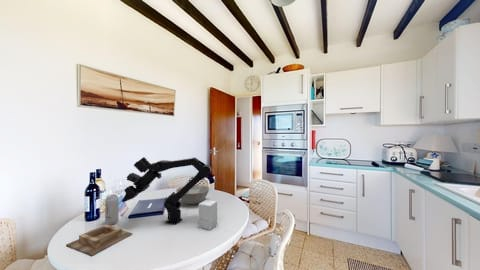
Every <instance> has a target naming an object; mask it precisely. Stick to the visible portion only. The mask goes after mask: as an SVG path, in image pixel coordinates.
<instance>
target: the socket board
mask: <svg viewBox="0 0 480 270" xmlns="http://www.w3.org/2000/svg"><path fill="white" fill-rule="evenodd" d="M133 234H134V233H132V232H129V231H126V230H123V229H122V228H120V227H116V226H113V225H107V224H103V225H101V226H99V227H97V228H93V229H91V230H89V231H86V232H85V233H82V234H79V235H78V239H76V240H74V241H71V242H69V243H66V245H65V247H68V248H70V249H73V250H76V251H77V252H80V253H83V254H85V255H88V256H90V257H94V256H96V255H97V254H99V253H101V252H102V251H104V250H106V249H108V248H111V247H112V246H114V245H116V244H118V243H120V242H121V241H123V240H125V239H127V238H129V237H131V236H133Z"/></svg>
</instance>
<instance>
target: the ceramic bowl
mask: <svg viewBox="0 0 480 270" xmlns="http://www.w3.org/2000/svg"><path fill="white" fill-rule="evenodd" d="M184 186H185V185H183V186H180V187H178V188H177V189H176V192H175V193H177V192H178V191H179V190H180V189H182V188H183V187H184ZM209 191H210V188H209V186H207V185H201V184H196V185H195V186H193V187H192V188H191V189H190V190H189V191H188V192H187V193H186V194H185V195H184V196H183V197H182V198H181V199H180V200H181V201H182V202H183V203H184V204H186V205H197V204H198V205H199V203H201V202H203V201H205V200H206V199H205V198H206V197H207V195H208V194H209Z"/></svg>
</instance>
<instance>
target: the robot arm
mask: <svg viewBox="0 0 480 270" xmlns="http://www.w3.org/2000/svg"><path fill="white" fill-rule="evenodd" d="M133 166H134V168H136V170H137V171H138V172H139V173H144V174H143V175H142V176H141V175H139V174H136V173H135V172H131V173H129V174H128V175H127V176H126V180H127V181H129V182H132V183H133V184H132V185H128V186H126V188H125V189H124V190H123V191H124V193H125V194H124V196H123V198H122V200H121V202H122V203H125V202H127V201H130V200H132V199H134V198H137V196H138V195H139V194H140V193H143V192H144V191H146V190H147V189H149V188H150V185H151V184H152V182H153V181H154V180H155V179H156V178H157V179H159V180H160V179H161V178H162V172H164V171H168V170H171V169H175V168H182V167H183V168H184V167H188V166H192V167H193V168H195V169H196V171H198V172H197V173H196V175H194V176H193V177H192V178H191V179H190V180H189V181H188V182H186V184H184V185H183V186H184V187H183V186H182V187H183V188H182V189H180V190H179V191H178V192H175V191H173V192H172V193H171V194H170V195H168V196H167V197H166V198H165V199H164V200H165V201H164V202H163V207H164V208H165V209H166V211H167V220H166V221H165V223H167V224H171V225H177V224H179V223H181V222H183V218H182V213H181V212H182V211H181V207H182V203H181V202H180V200H181V198H182V197H183V196H184V195H185V194H186V193H187V192H188V191H189V190H190V189H191V188H192V187H193V186H195V185H198V183H199V182H201V181H202V180H204V179H205V178H207V177H209V176H210V175H211V173H212V167H211V165H209V164H206V163H204V162H203V161H201V160H199V159H198V158H196V157H191V158H190V157H189V158H184V159H177V160H164V159H163V160H158V161H157V162H152V163H151V162H149V160H147V158H146V157H144V156H143V157H142V158H141V159H139V160H138V161H136V162H135V163H134V164H133Z"/></svg>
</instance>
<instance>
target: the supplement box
mask: <svg viewBox="0 0 480 270" xmlns="http://www.w3.org/2000/svg"><path fill="white" fill-rule="evenodd" d="M217 225H218V201H216V200H210V199H204V200H203V201H202V202H201V203H198V228H200V229H205V230H209V231H211V230H212V229H213V228H215V226H217Z"/></svg>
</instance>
